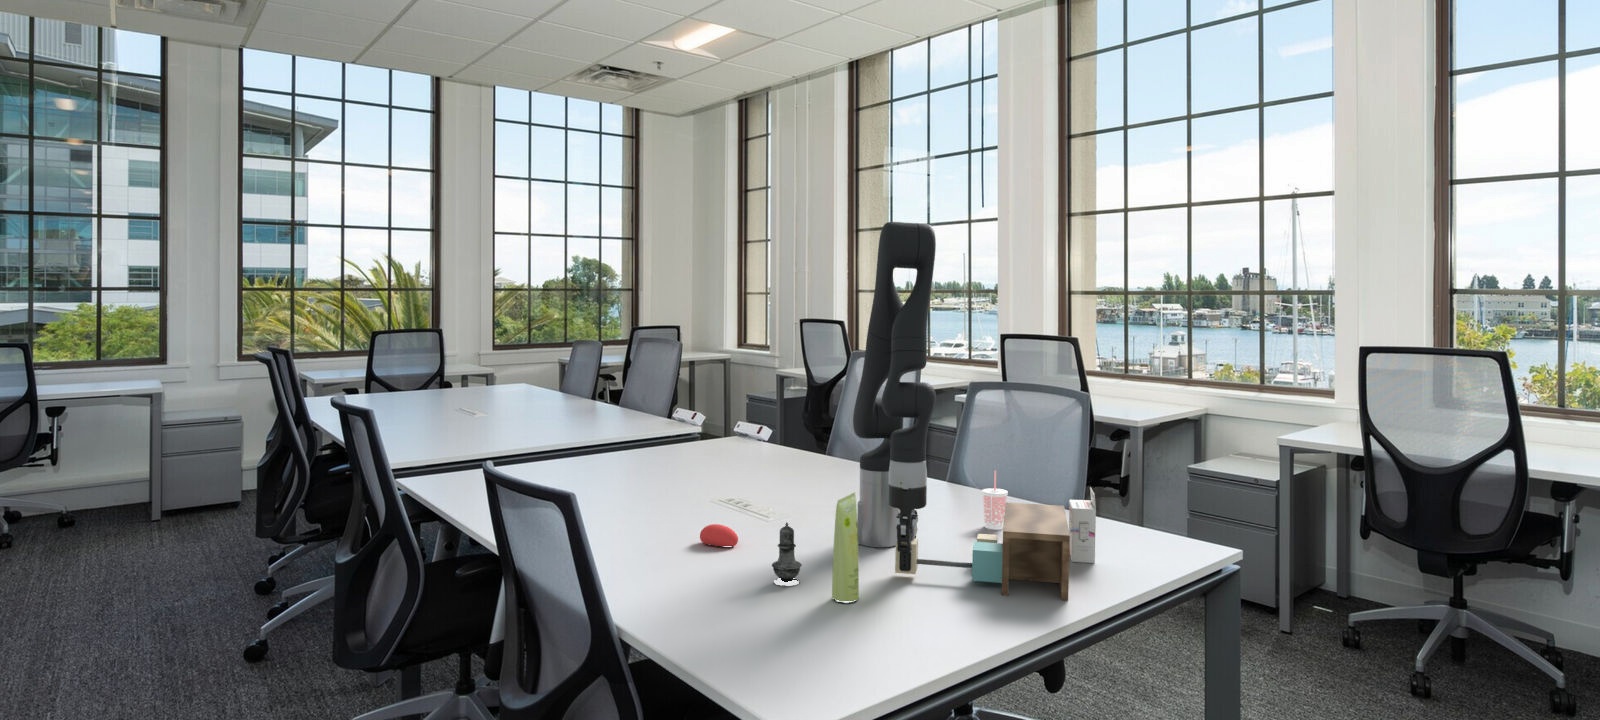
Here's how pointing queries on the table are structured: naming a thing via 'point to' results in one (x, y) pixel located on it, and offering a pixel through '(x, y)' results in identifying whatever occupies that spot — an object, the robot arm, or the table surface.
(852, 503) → the tube
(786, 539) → the salt shaker
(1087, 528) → the ink cartridge box
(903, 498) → the robot arm
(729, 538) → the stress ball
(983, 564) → the teal and cream dumbbell
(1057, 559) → the walnut shelf
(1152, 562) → the table surface
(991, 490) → the beverage cup
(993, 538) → the beige cube-topped post
